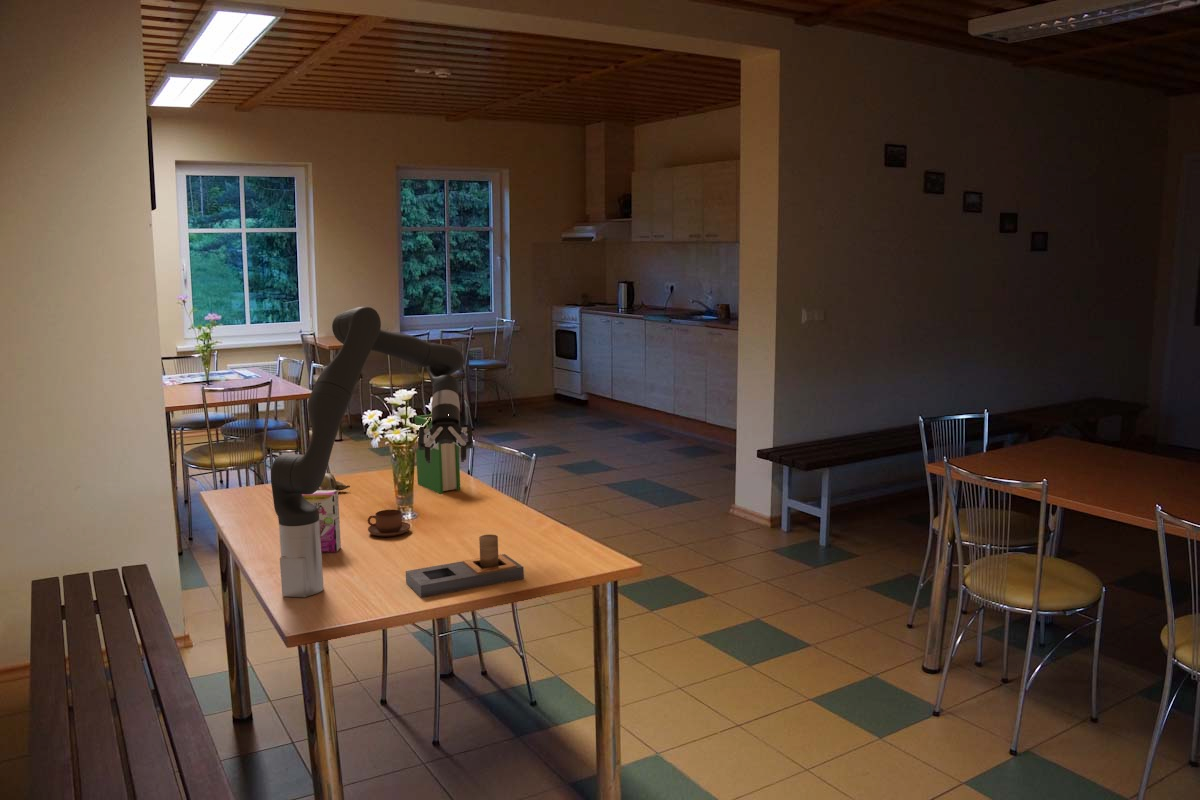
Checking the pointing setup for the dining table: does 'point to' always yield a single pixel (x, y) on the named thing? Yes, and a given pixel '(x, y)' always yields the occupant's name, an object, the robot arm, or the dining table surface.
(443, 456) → the hardback book
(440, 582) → the grey peg board
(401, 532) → the cup and saucer
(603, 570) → the dining table surface
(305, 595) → the robot arm
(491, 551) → the walnut peg
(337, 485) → the ceramic sculpture
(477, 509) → the dining table surface
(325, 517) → the candy bar box
